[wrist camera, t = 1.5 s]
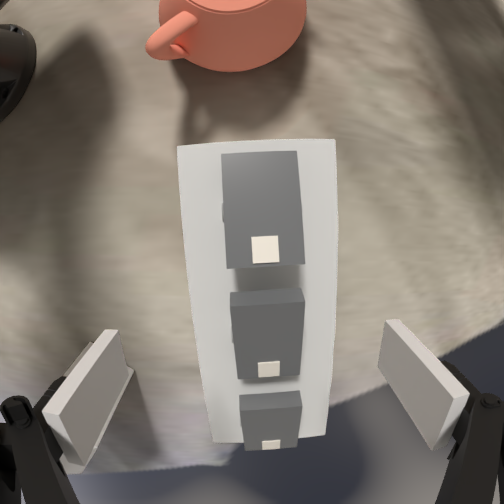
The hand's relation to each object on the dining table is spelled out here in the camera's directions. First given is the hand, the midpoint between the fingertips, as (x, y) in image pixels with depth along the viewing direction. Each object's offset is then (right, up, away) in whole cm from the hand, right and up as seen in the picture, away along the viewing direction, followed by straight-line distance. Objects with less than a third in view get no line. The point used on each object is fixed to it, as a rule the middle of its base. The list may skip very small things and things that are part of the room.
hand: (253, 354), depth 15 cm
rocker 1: (+1, +8, +11) cm, 14 cm away
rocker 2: (+2, -13, +17) cm, 21 cm away
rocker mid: (+1, -2, +14) cm, 14 cm away
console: (+1, -1, +22) cm, 22 cm away
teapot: (-2, +31, +14) cm, 35 cm away
